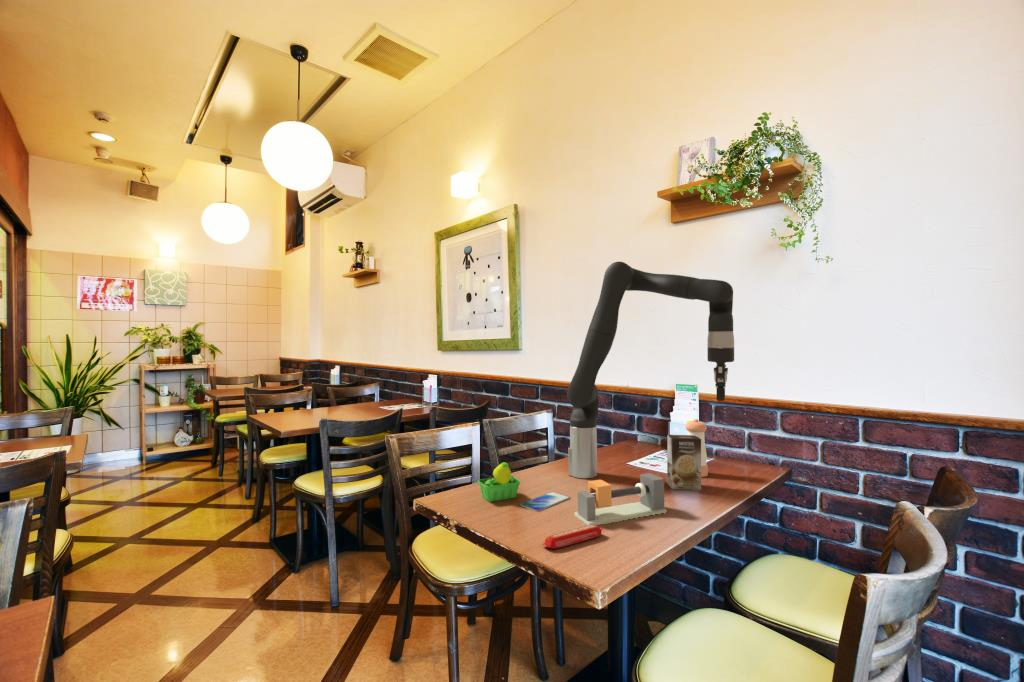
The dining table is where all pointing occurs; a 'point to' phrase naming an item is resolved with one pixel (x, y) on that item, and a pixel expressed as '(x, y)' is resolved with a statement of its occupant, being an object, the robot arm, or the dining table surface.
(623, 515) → the cord stand
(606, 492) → the marker sleeve
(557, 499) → the smartphone
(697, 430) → the pepper shaker
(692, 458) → the coffee box
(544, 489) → the dining table surface
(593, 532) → the candy bar
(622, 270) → the robot arm
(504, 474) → the fruit basket
